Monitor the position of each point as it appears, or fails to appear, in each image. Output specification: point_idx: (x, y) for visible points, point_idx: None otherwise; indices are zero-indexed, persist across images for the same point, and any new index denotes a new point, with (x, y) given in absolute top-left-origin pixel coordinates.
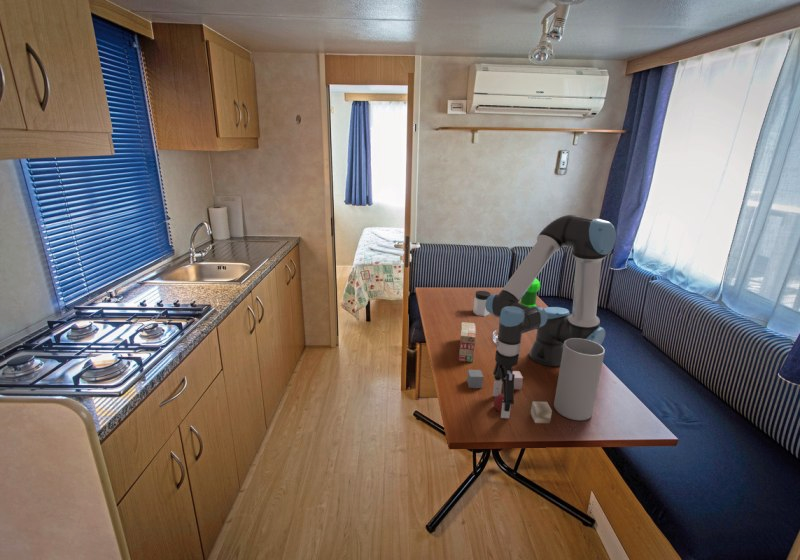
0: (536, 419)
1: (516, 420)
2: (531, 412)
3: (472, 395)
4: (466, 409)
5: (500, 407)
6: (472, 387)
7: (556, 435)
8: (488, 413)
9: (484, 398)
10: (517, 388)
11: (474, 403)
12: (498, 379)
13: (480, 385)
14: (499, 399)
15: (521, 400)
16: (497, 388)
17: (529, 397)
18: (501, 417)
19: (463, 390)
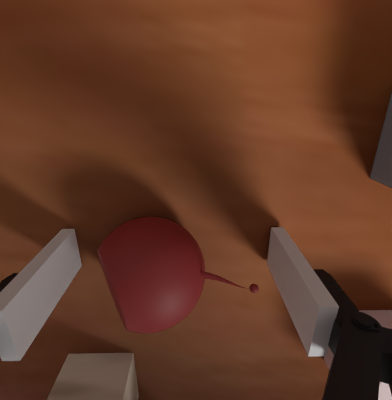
0: (60, 374)
1: (67, 292)
2: (120, 365)
3: (295, 95)
4: (119, 13)
5: (97, 250)
6: (390, 111)
7: (6, 397)
8: (99, 167)
9: (255, 172)
10: (329, 349)
11: (199, 93)
12: (332, 337)
13: (387, 171)
14: (112, 272)
15: (233, 342)
16: (251, 288)
17: (256, 373)
18: (61, 231)
19: (368, 30)
